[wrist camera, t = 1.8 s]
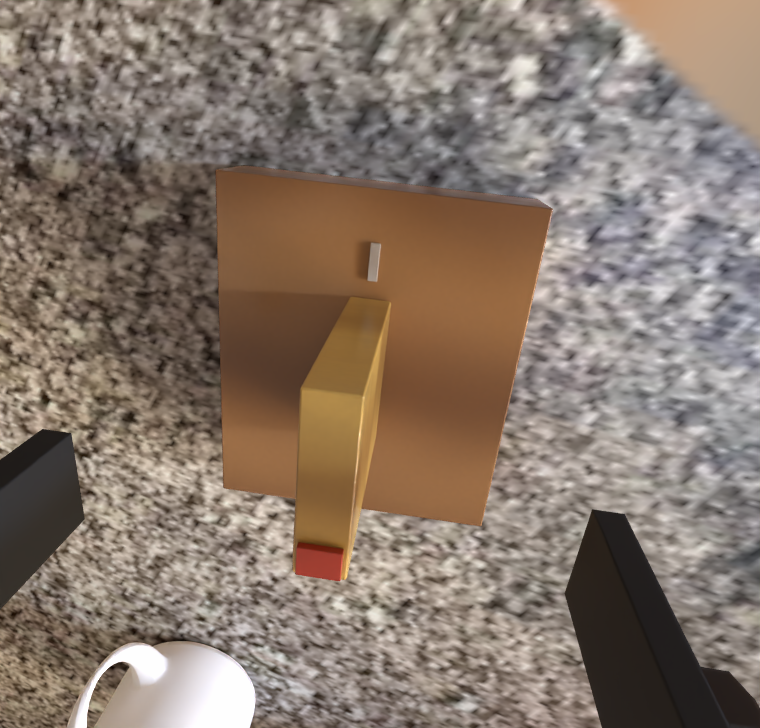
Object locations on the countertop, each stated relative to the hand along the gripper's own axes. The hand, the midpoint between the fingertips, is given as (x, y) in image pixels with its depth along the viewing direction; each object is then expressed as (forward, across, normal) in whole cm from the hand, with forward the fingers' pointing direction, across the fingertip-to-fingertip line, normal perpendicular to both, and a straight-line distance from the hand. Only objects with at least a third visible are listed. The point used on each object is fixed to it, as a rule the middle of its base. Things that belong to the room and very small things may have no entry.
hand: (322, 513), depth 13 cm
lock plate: (+12, 0, 0) cm, 12 cm away
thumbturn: (+9, 0, 0) cm, 9 cm away
